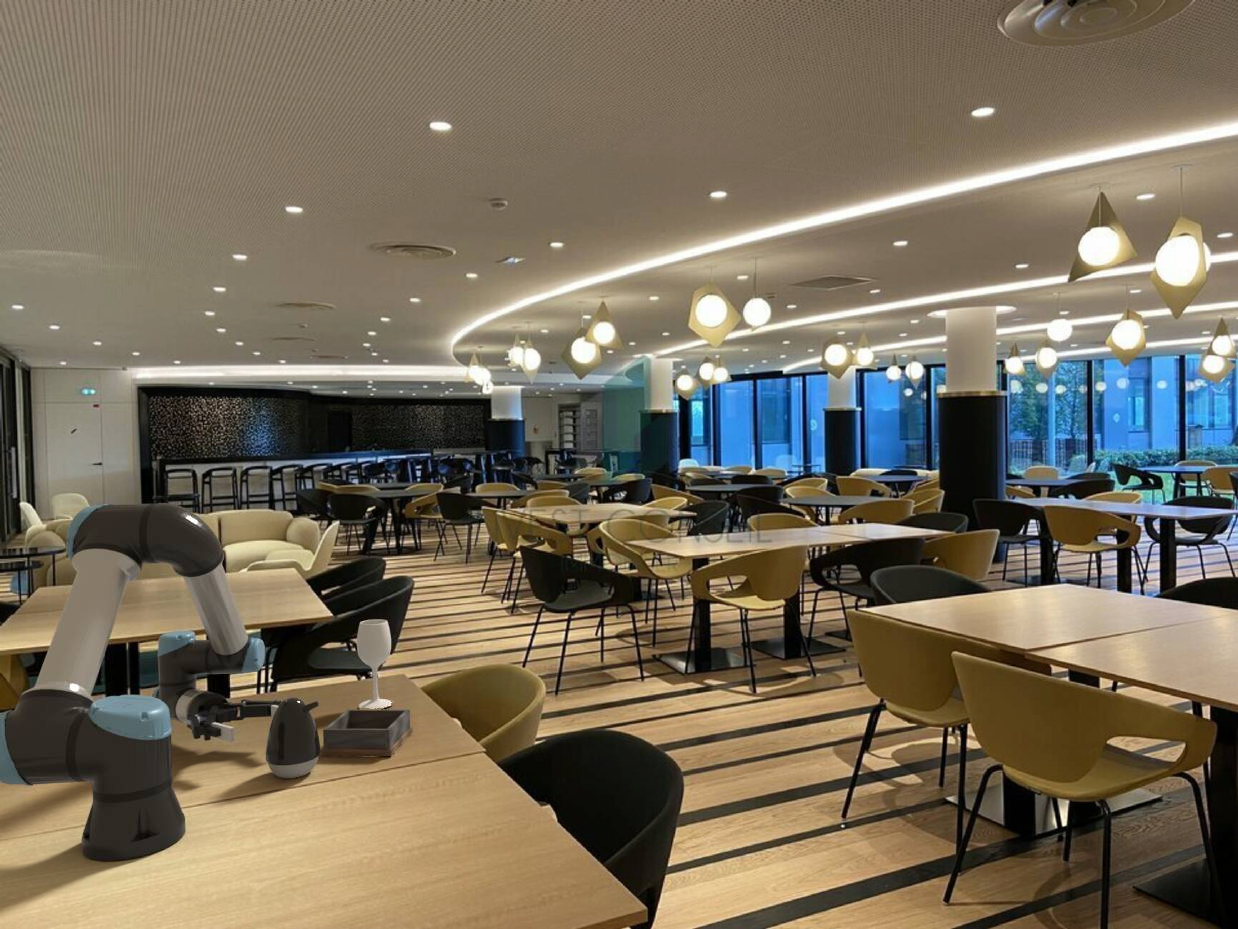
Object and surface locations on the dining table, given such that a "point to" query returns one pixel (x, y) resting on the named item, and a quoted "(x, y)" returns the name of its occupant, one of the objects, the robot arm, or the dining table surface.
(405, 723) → the holder
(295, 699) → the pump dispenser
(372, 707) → the wineglass
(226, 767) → the dining table surface
